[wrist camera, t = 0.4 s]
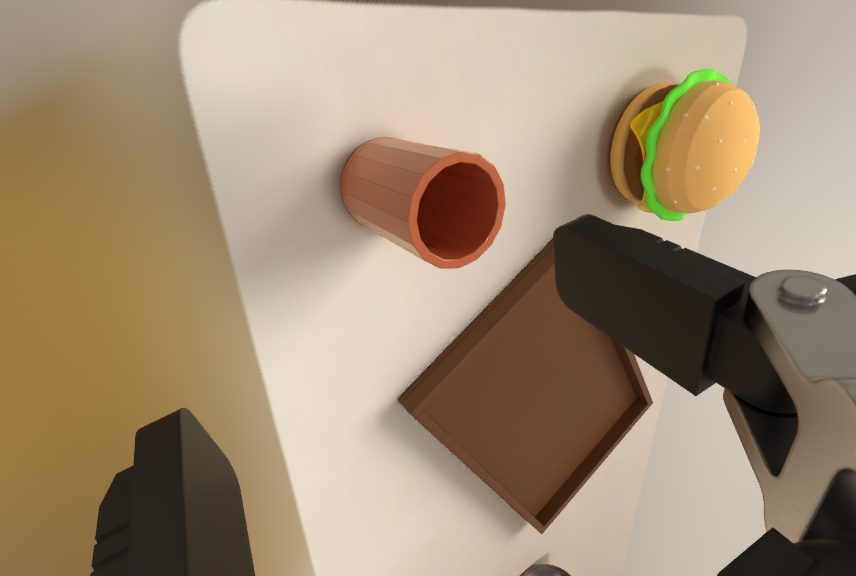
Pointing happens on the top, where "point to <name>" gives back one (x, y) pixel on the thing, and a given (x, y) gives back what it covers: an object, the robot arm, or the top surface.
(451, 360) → the tray
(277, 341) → the top surface
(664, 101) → the hamburger
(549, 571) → the tin
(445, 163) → the reddish brown cup
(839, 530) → the robot arm
